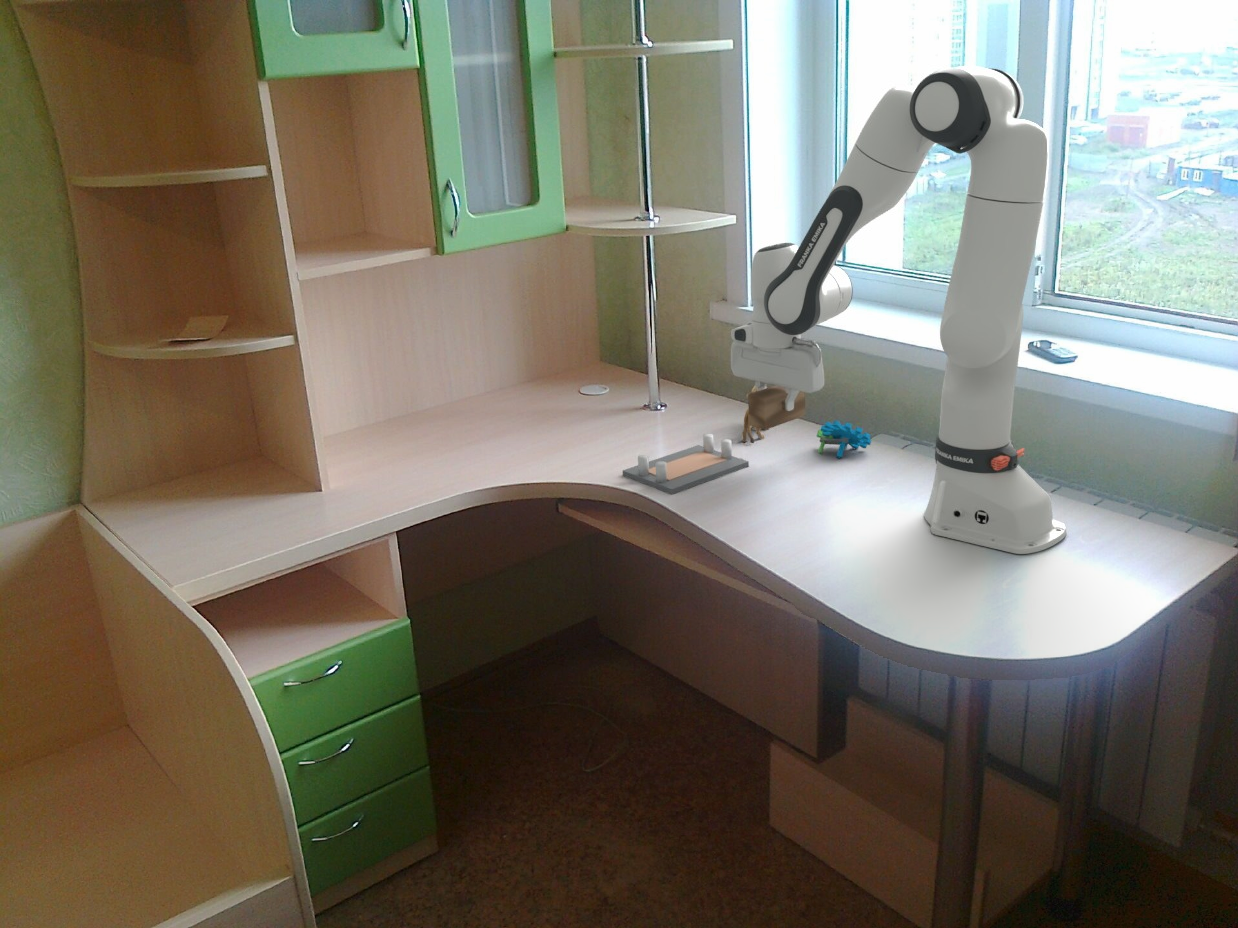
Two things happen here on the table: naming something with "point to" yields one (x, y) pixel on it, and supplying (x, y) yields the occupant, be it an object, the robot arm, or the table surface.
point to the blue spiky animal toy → (842, 436)
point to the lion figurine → (746, 424)
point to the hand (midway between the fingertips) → (776, 407)
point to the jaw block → (773, 407)
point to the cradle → (687, 466)
